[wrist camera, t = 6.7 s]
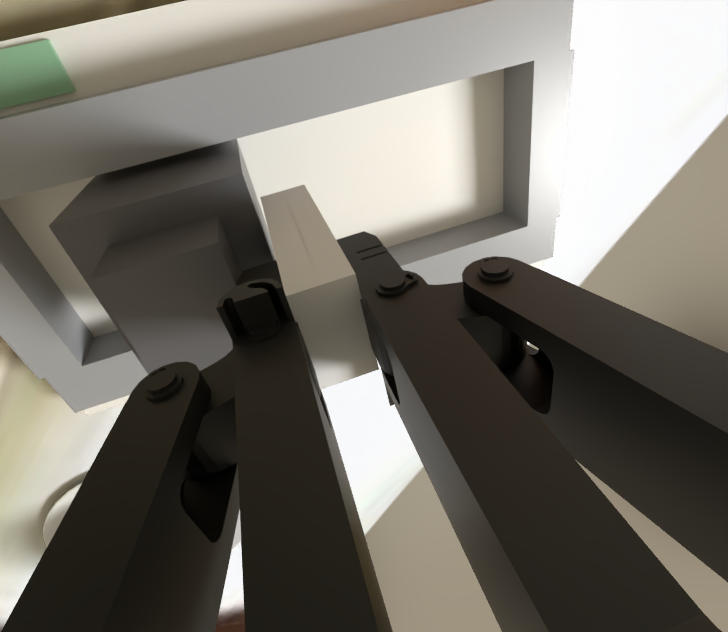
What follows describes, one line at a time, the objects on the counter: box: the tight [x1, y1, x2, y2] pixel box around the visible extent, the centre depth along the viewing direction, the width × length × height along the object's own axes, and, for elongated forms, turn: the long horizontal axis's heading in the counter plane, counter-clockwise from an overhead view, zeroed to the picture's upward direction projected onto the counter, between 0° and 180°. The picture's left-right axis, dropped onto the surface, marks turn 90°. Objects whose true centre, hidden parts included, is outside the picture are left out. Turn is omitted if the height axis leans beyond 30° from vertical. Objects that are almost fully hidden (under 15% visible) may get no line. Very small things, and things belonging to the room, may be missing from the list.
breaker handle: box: [49, 139, 276, 374], centre depth 14 cm, size 5×6×7 cm
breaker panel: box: [0, 0, 574, 415], centre depth 17 cm, size 24×14×4 cm, turn 101°
